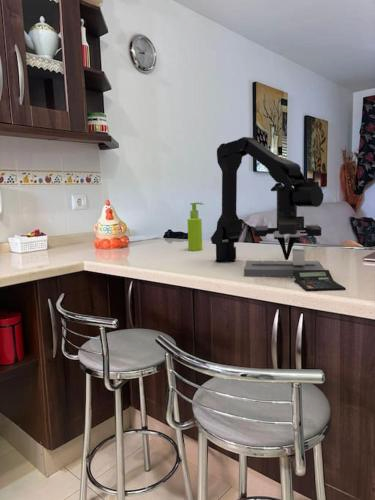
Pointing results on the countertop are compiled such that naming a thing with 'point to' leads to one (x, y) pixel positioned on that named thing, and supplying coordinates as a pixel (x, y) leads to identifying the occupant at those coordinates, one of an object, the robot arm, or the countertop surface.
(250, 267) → the gray slotted panel
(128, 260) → the countertop surface
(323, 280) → the calculator
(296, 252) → the fader
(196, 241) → the soap dispenser
